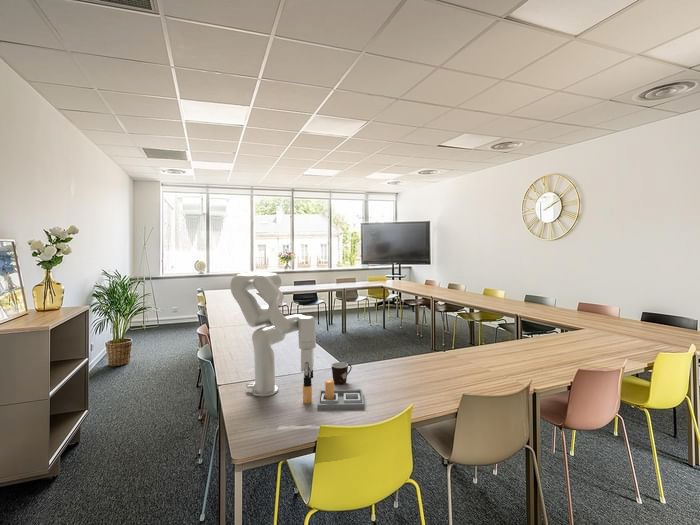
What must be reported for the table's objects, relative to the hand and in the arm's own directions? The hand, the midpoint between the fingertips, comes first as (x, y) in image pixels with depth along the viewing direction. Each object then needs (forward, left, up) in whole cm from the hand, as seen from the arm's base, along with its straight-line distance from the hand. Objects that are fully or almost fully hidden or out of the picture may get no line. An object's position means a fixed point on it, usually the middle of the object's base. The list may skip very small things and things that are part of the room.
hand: (308, 382), depth 151 cm
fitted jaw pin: (+9, 0, -9) cm, 13 cm away
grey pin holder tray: (+14, 0, -10) cm, 18 cm away
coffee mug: (+15, +22, -10) cm, 29 cm away
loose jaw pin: (-1, 0, -10) cm, 10 cm away
